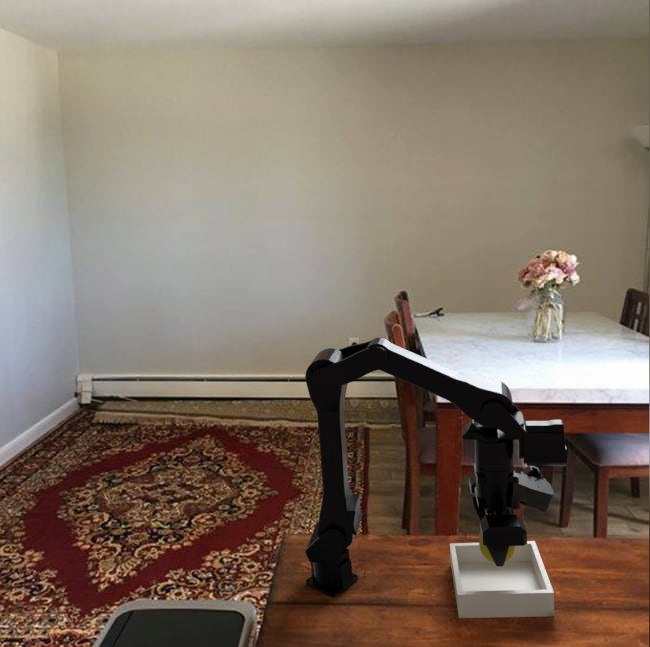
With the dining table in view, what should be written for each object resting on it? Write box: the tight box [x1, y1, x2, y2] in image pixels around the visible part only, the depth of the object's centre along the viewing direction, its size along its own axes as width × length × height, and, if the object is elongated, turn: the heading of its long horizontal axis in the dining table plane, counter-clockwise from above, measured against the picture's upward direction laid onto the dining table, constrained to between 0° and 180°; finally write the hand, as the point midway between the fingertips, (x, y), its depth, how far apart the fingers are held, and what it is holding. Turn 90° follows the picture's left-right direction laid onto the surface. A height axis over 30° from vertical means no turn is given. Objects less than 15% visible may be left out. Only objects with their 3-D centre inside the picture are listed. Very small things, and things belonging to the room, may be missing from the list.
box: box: [449, 540, 555, 619], centre depth 110 cm, size 14×14×4 cm
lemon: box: [478, 532, 515, 563], centre depth 109 cm, size 6×6×8 cm
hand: (497, 555), depth 109 cm, fingers closed on lemon, 5 cm apart
